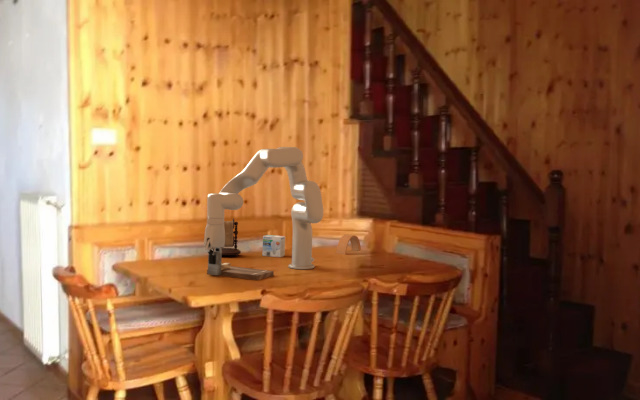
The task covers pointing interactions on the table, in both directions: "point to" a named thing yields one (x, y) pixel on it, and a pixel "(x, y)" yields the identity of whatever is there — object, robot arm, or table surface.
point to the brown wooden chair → (230, 238)
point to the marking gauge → (217, 264)
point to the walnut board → (245, 273)
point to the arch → (344, 242)
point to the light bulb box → (273, 246)
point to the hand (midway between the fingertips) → (214, 262)
